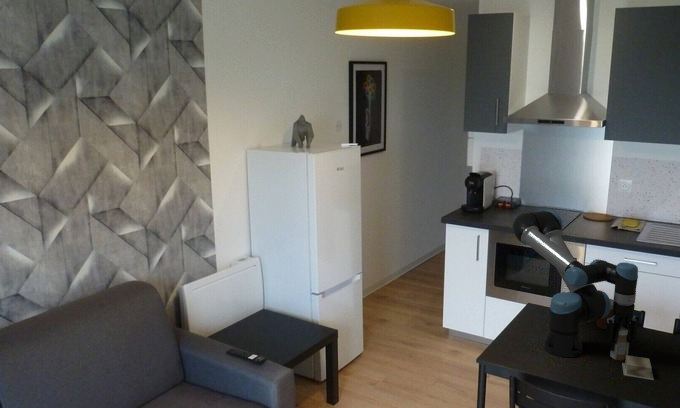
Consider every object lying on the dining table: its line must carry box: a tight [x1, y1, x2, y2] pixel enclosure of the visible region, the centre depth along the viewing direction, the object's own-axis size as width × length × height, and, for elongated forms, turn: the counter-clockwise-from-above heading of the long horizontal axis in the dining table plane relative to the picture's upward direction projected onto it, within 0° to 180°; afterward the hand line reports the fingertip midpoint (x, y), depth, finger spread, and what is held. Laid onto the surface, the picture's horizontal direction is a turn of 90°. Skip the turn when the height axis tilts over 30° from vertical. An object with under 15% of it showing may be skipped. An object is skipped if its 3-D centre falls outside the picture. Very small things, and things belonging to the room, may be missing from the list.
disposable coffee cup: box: [596, 298, 614, 330], centre depth 257 cm, size 10×10×12 cm
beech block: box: [624, 354, 652, 378], centre depth 217 cm, size 8×8×4 cm
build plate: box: [621, 362, 655, 381], centre depth 218 cm, size 10×10×1 cm
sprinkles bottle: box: [615, 326, 628, 361], centre depth 226 cm, size 5×5×14 cm
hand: (618, 356), depth 228 cm, fingers closed on sprinkles bottle, 4 cm apart
